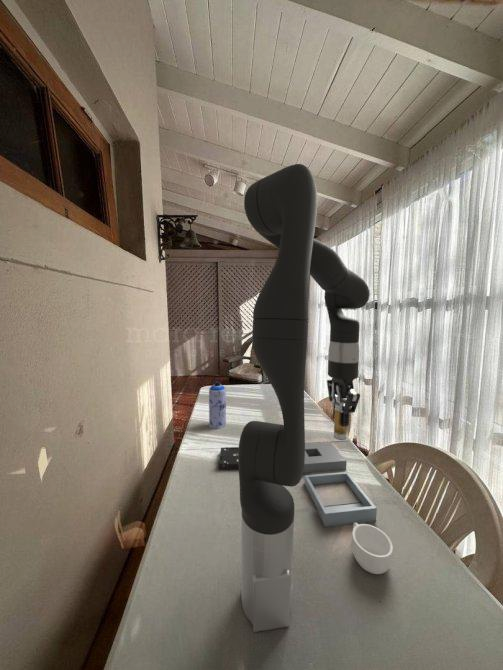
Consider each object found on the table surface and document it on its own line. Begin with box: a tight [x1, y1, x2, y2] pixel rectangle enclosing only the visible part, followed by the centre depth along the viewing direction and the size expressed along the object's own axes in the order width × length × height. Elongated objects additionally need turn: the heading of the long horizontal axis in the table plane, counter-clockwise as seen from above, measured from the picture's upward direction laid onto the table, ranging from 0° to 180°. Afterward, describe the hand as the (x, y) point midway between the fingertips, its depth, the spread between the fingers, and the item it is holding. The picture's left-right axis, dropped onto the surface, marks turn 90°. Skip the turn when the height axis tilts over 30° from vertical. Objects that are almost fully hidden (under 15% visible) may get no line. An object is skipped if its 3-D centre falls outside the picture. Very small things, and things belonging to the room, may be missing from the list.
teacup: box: [351, 523, 394, 575], centre depth 56 cm, size 10×8×5 cm
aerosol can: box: [208, 380, 227, 430], centre depth 117 cm, size 8×8×20 cm
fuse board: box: [303, 441, 348, 474], centre depth 89 cm, size 12×18×4 cm, turn 98°
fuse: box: [333, 403, 348, 441], centre depth 69 cm, size 3×3×9 cm
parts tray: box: [303, 471, 378, 528], centre depth 72 cm, size 15×14×4 cm
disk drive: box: [218, 446, 239, 471], centre depth 91 cm, size 10×3×15 cm
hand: (340, 422), depth 69 cm, fingers closed on fuse, 3 cm apart
